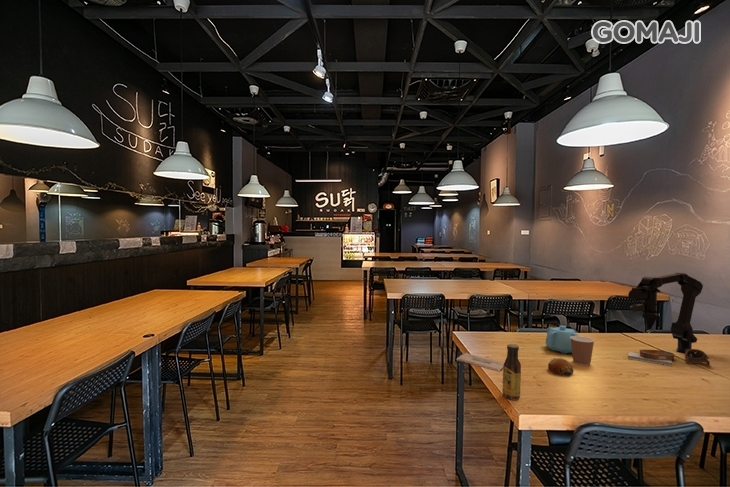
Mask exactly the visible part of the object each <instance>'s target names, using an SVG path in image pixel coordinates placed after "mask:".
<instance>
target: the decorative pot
mask: <svg viewBox="0 0 730 487" xmlns="http://www.w3.org/2000/svg"><path fill="white" fill-rule="evenodd" d="M571 336H580V335H579V334H578V333H577V332H576V331H575V330H574V329H572V328H567V326H566V325H559V327H555V326H554V327H552V326H550V327H547V328H546V337H545V342H544V343H545V345H546V347H547V348H549V349H550V350H551V351H557V352H560V353H561V354H563V355H567V353H568V354H569V353H570V354H571V353H572V347H571V339H570V337H571Z"/></svg>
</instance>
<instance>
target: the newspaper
mask: <svg viewBox="0 0 730 487" xmlns="http://www.w3.org/2000/svg"><path fill="white" fill-rule="evenodd" d="M456 361H459V362H462V363H467V364H470V365H474V366H477V367H481V368H484V369H488V370H492V371H496V372H500V371H501V370H503V365H504V362H503V361H498V360H494V359H491V358H486V357H482V356H479V355H474V354H471V353H466V352H465V353H463V354H461V355H459V356H458V357H457V358H456Z"/></svg>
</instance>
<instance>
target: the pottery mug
mask: <svg viewBox="0 0 730 487" xmlns="http://www.w3.org/2000/svg"><path fill="white" fill-rule="evenodd" d="M684 358H685V359H684V362H685V363H686V364H687V365H689V364H699V363H700V364H702V363H705V364H706V365H708V366H710V364H711V362H710V361H709V360H708V359H710V357H709V356H708V355H707V354H706V353H705V351H703V350H701V349H698V348H692V349H685V353H684Z"/></svg>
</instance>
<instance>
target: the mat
mask: <svg viewBox="0 0 730 487" xmlns="http://www.w3.org/2000/svg"><path fill="white" fill-rule="evenodd" d="M627 359H628V360H635V361H640V362H647V363H651V362H652V364H657V363H658V364H657V365H663V364H664V366H668V367H669V366H670V367H673V362H672V361H673V360H656V359H648V358H645V357H642V356H640V353H638V352H637V353H636V352H632V351H629V352H628V356H627Z"/></svg>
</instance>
